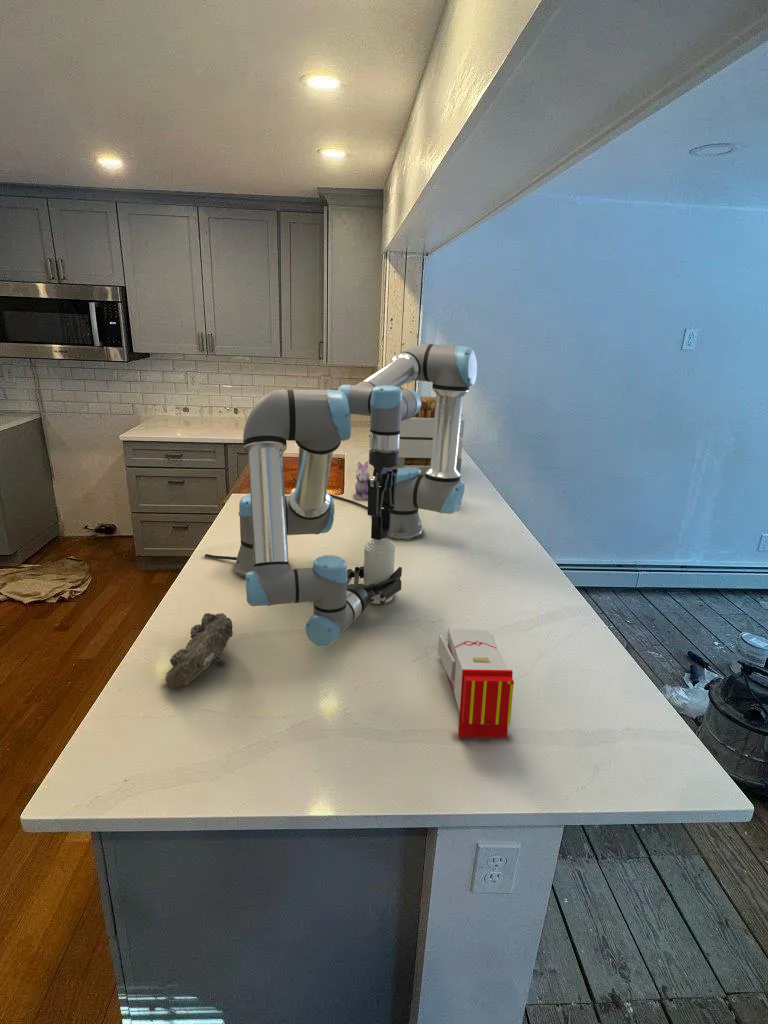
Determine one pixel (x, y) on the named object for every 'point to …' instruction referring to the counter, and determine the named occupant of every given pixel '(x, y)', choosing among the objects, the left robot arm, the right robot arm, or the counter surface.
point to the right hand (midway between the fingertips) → (380, 535)
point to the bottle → (378, 562)
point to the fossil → (200, 649)
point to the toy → (478, 682)
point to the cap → (385, 532)
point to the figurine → (362, 481)
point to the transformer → (421, 437)
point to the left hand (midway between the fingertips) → (385, 568)
